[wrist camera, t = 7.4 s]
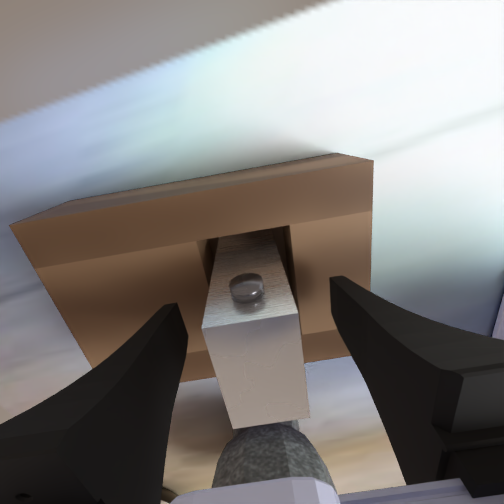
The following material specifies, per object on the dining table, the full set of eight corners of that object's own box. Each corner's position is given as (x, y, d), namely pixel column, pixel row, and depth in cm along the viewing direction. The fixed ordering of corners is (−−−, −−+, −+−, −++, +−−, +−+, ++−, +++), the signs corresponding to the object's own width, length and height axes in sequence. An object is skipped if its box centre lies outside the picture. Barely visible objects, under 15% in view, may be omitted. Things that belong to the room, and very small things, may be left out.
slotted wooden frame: (341, 307, 20) (368, 352, 16) (133, 340, 20) (107, 393, 16) (337, 152, 15) (373, 160, 11) (69, 200, 16) (9, 225, 12)
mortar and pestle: (260, 465, 28) (273, 680, 17) (193, 427, 25) (157, 659, 14) (347, 415, 25) (430, 632, 14) (284, 364, 22) (329, 594, 11)
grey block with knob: (281, 304, 18) (310, 425, 10) (236, 311, 18) (235, 437, 10) (268, 218, 15) (296, 299, 8) (217, 227, 15) (197, 315, 8)
